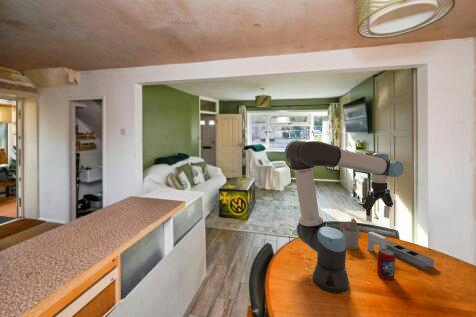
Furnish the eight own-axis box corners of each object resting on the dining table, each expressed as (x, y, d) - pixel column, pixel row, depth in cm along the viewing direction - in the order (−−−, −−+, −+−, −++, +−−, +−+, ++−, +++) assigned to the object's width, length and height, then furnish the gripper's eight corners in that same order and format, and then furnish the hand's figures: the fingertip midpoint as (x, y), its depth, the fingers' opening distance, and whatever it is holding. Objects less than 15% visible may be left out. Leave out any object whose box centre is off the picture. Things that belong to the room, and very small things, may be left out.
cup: (360, 249, 126) (360, 232, 125) (344, 248, 128) (345, 231, 127) (355, 242, 134) (356, 227, 133) (341, 241, 136) (341, 226, 135)
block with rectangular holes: (424, 270, 105) (425, 262, 105) (381, 249, 126) (381, 242, 126) (433, 267, 108) (434, 259, 108) (389, 246, 128) (389, 240, 128)
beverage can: (386, 282, 97) (387, 256, 96) (373, 273, 104) (374, 249, 103) (398, 279, 99) (399, 254, 98) (384, 270, 106) (385, 247, 105)
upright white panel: (385, 256, 118) (386, 237, 117) (381, 257, 117) (382, 238, 116) (371, 248, 126) (371, 231, 125) (367, 249, 125) (368, 232, 124)
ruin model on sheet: (353, 231, 151) (353, 217, 150) (356, 233, 148) (356, 219, 147) (338, 232, 149) (339, 219, 148) (341, 234, 146) (341, 220, 145)
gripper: (368, 185, 110) (367, 225, 112) (402, 180, 119) (400, 218, 121) (356, 182, 117) (355, 220, 119) (388, 178, 126) (386, 214, 128)
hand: (377, 219), depth 120 cm, fingers open, 13 cm apart
